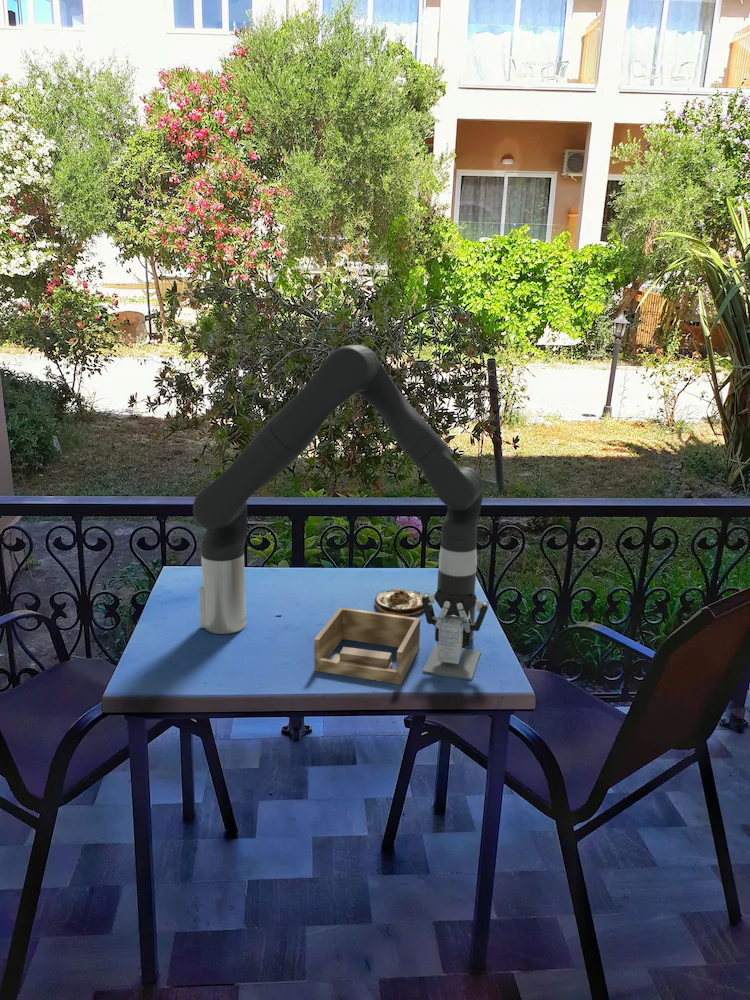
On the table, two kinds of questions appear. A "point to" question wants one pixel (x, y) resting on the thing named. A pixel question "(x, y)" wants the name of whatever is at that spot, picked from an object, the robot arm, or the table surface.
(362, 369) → the robot arm
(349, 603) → the table surface
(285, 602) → the table surface
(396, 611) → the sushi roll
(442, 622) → the medicine box
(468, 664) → the mat
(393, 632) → the tan wooden open box
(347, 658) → the wooden block
